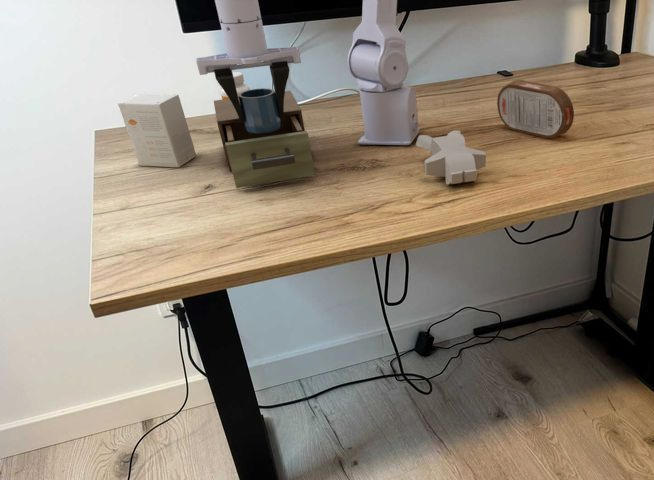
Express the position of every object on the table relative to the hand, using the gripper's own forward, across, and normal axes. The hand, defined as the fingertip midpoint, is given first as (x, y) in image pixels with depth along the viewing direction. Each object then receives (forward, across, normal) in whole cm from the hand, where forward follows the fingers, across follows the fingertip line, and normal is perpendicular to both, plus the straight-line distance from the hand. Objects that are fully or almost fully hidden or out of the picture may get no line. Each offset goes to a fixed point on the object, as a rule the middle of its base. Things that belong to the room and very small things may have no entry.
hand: (261, 118), depth 100 cm
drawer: (+8, 0, -2) cm, 8 cm away
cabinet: (+9, 0, +11) cm, 14 cm away
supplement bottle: (+9, -2, +28) cm, 30 cm away
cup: (+2, 0, 0) cm, 2 cm away
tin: (+9, +45, -1) cm, 46 cm away
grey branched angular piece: (+9, +26, -12) cm, 30 cm away
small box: (+9, -16, +14) cm, 24 cm away
